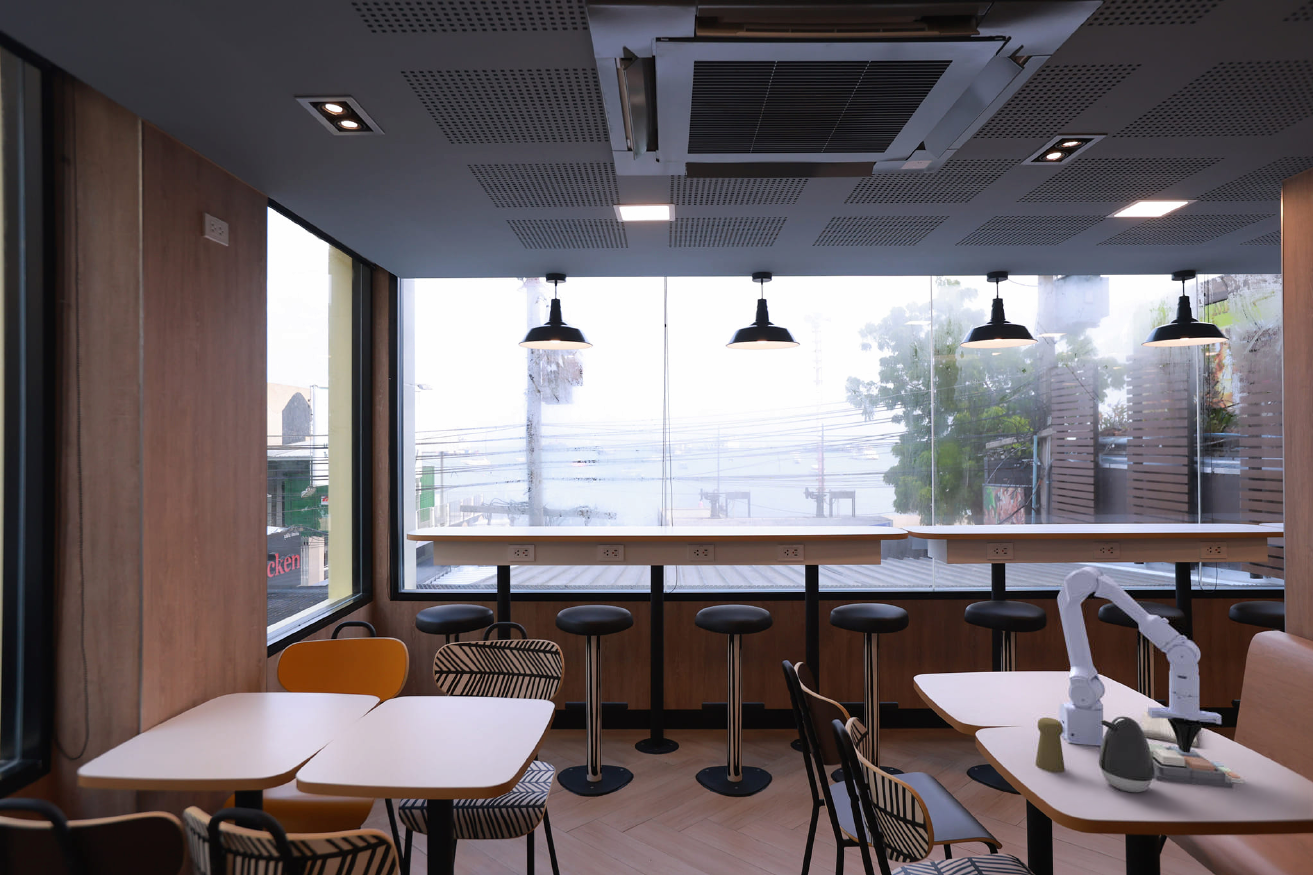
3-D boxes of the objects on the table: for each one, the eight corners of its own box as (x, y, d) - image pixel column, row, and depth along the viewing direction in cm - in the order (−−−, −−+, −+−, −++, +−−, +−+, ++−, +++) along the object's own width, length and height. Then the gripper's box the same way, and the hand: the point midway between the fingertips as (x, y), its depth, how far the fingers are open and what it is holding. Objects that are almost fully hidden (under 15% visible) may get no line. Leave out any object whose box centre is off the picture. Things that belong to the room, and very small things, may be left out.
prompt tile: (1231, 782, 158) (1231, 777, 158) (1208, 765, 166) (1208, 760, 166) (1243, 783, 157) (1243, 778, 157) (1219, 766, 166) (1219, 761, 166)
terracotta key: (1192, 772, 159) (1192, 764, 159) (1182, 763, 163) (1182, 756, 163) (1214, 774, 158) (1214, 766, 158) (1203, 765, 162) (1203, 758, 162)
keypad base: (1156, 779, 158) (1156, 768, 158) (1126, 752, 173) (1126, 742, 173) (1232, 787, 155) (1232, 775, 155) (1195, 759, 170) (1195, 748, 170)
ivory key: (1162, 764, 160) (1162, 756, 160) (1153, 756, 164) (1153, 748, 164) (1184, 766, 159) (1184, 758, 159) (1174, 758, 163) (1174, 750, 163)
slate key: (1178, 760, 164) (1178, 753, 164) (1168, 753, 169) (1168, 745, 169) (1199, 763, 164) (1199, 755, 164) (1189, 755, 168) (1189, 747, 168)
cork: (1061, 763, 166) (1061, 716, 166) (1067, 774, 160) (1067, 725, 160) (1033, 759, 168) (1033, 713, 168) (1038, 770, 162) (1038, 721, 162)
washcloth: (1195, 728, 191) (1194, 717, 191) (1199, 750, 176) (1199, 737, 176) (1141, 718, 198) (1141, 707, 198) (1142, 738, 183) (1142, 726, 183)
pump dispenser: (1088, 775, 160) (1088, 708, 160) (1134, 777, 159) (1134, 709, 160) (1116, 797, 149) (1116, 725, 150) (1165, 798, 149) (1165, 726, 149)
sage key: (1149, 758, 166) (1149, 750, 166) (1141, 750, 170) (1141, 743, 170) (1170, 760, 165) (1170, 752, 165) (1161, 752, 169) (1161, 745, 169)
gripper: (1158, 695, 164) (1158, 754, 164) (1229, 701, 161) (1229, 760, 161) (1143, 686, 171) (1143, 742, 171) (1211, 691, 168) (1211, 748, 168)
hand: (1184, 750), depth 166 cm, fingers closed, pressing on slate key
